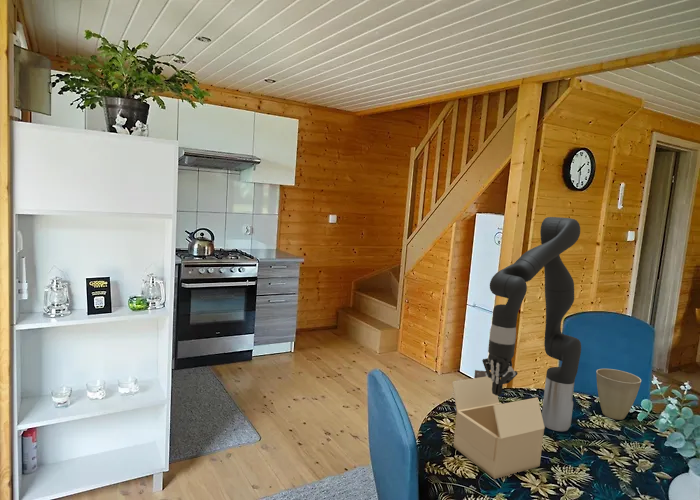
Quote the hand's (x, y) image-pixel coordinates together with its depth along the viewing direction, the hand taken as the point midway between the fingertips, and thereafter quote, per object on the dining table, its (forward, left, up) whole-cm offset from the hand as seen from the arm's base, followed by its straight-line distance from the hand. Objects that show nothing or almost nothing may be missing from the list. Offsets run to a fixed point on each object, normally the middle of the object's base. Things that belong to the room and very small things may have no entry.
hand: (496, 394), depth 143 cm
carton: (0, +2, -19) cm, 19 cm away
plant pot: (-66, -4, -19) cm, 69 cm away
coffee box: (-14, -20, -19) cm, 31 cm away
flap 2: (0, +9, -3) cm, 10 cm away
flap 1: (0, -9, -3) cm, 9 cm away
